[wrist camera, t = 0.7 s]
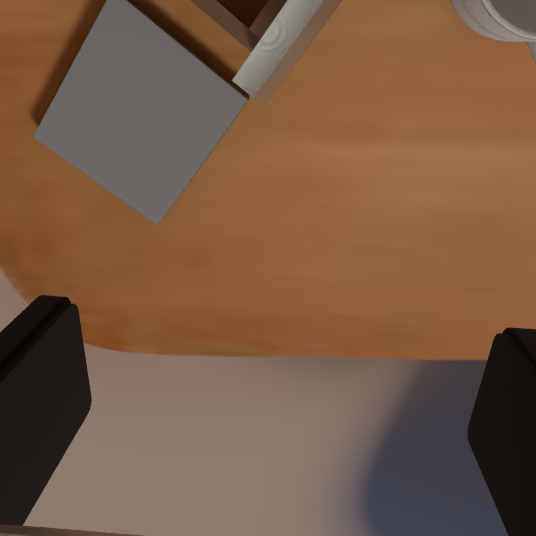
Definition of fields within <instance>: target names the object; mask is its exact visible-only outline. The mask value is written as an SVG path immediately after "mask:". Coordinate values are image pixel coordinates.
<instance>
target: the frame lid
mask: <svg viewBox="0 0 536 536" xmlns="http://www.w3.org/2000/svg"><path fill="white" fill-rule="evenodd" d="M341 1H342V0H287V2H286V3H285V5H284V6H283V8H282V9H281V10H280V12H279V13H278V15H277V16H276V18H275V19H274V21H273V22H272V23H271V25H270V26H269V28H268V29H267V31H266V32H265V34H264V35H263V36H262V38H261V39H260V41H259V42H258V44H257V45H256V47H255V48H254V49H253V51H252V52H251V54H250V55H249V57H248V58H247V60H246V61H245V62H244V64H243V65H242V67H241V68H240V70H239V71H238V73H237V74H236V76H235V77H234V78H233V80H232V81H233V82H234V83H236V84H237V85H238V86H239V87H241V88H242V89H243V90H244V91H245V92H247V93H248V94H249V95H250V96H252V97H253V98H254V99H255V100H257V101H258V102H259V103H260V104H261V105H263V106H265V104H266V103H267V102H268V100H269V99H270V98H271V96H272V95H273V93H274V92H275V91H276V89H277V88H278V87H279V85H280V84H281V83H282V81H283V80H284V79H285V77H286V76H287V75H288V73H289V72H290V70H291V69H292V68H293V66H294V65H295V64H296V62H297V61H298V60H299V58H300V57H301V56H302V54H303V53H304V51H305V50H306V49H307V47H308V46H309V45H310V43H311V42H312V41H313V39H314V38H315V37H316V35H317V34H318V33H319V31H320V30H321V28H322V27H323V26H324V24H325V23H326V22H327V20H328V19H329V18H330V16H331V15H332V14H333V12H334V11H335V9H336V8H337V7H338V5H339V4H340V3H341Z"/></svg>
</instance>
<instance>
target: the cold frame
mask: <svg viewBox="0 0 536 536" xmlns="http://www.w3.org/2000/svg"><path fill="white" fill-rule="evenodd" d="M191 1H192V2H193V3H194V4H195V5H197V6H198V7H199V8H200V9H201V10H203V11H204V12H205V13H206V14H207V15H208V16H210V17H211V18H212V19H213V20H214V21H215V22H217V23H218V24H219V25H220V26H221V27H223V28H224V29H225V30H226V31H227V32H228V33H230V34H231V35H232V36H233V37H234V38H235V39H237V40H238V41H239V42H240V43H241V44H242V45H244V46H245V47H246V48H247V49H248V50H250V51H251V52H252V51H253V49H254V48H255V47H256V45H257V44H258V42H259V41H260V39H261V38H262V36H263V35H264V34H265V32H266V31H267V29H268V28H269V26H270V25H271V23H272V22H273V21H274V19H275V18H276V16H277V15H278V13H279V12H280V10H281V9H282V8H283V6H284V5H285V3H286V2H287V0H268V2H267V3H266V4H265V6H264V7H263V9H262V10H261V12H260V13H259V15H258V16H257V18H256V19H255V21H254V22H253V24H252V25H251V27H249V26H247V25H246V24H245V23H244V22H243V21H242V20H240V19H239V18H238V17H237V16H236V15H235V14H233V13H232V12H231V11H230V10H229V9H228V8H227V7H225V6H224V5H223V4H222V3H221V2H220V1H218V0H191Z"/></svg>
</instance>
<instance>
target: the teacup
mask: <svg viewBox="0 0 536 536" xmlns="http://www.w3.org/2000/svg"><path fill="white" fill-rule="evenodd" d="M450 1H451V3H452V5H453V7H454V9H455V11H456V12H457V14H458V15H459V17H460V18H461V19H462V20H463V21H464V22H465V23H466V24H467V25H468V26H469V27H470V28H471V29H473V30H474V31H476V32H478V33H479V34H481V35H483V36H486V37H488V38H491V39H495V40H499V41H506V42H525V43H526V44H527V46H528V47H529V48H530V50H531V52H532V55H533V58H534V60H535V62H536V0H450Z"/></svg>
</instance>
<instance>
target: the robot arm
mask: <svg viewBox="0 0 536 536" xmlns="http://www.w3.org/2000/svg"><path fill="white" fill-rule="evenodd" d="M90 406H91V391H90V385H89V378H88V372H87V364H86V358H85V351H84V344H83V338H82V331H81V324H80V318H79V311H78V307H77V305H75V304H71V302H70V300H69V298H67V297H59V296H45V295H42V296H39V297H37V298H36V299H35V300H34V301H33V302H32V303H31V304H30V305H29V306H28V307H27V308H26V309H25V310H24V311H22V312H21V314H19V315H18V316H17V317H16V318H15V319H14V320H13V321H12V322H11V323H10V324H9V325H8V326H7V327H5V328H4V329H3V330H2V331H1V332H0V536H142V535H130V534H117V533H106V532H94V531H82V530H70V529H58V528H46V527H32V526H23V524H24V522H25V520H26V519H27V517H28V515H29V514H30V512H31V510H32V508H33V507H34V505H35V503H36V502H37V500H38V498H39V497H40V495H41V493H42V491H43V490H44V488H45V486H46V485H47V483H48V481H49V479H50V478H51V476H52V474H53V472H54V471H55V469H56V467H57V466H58V464H59V462H60V460H61V459H62V457H63V456H64V454H65V452H66V450H67V448H68V447H69V445H70V444H71V442H72V440H73V438H74V437H75V435H76V433H77V432H78V430H79V428H80V426H81V425H82V423H83V421H84V420H85V418H86V416H87V415H88V412H89V410H90ZM468 440H469V444H470V446H471V448H472V451H473V453H474V456H475V458H476V460H477V463H478V465H479V467H480V470H481V471H482V474H483V477H484V479H485V481H486V484H487V486H488V488H489V490H490V493H491V495H492V498H493V500H494V502H495V505H496V507H497V509H498V512H499V514H500V516H501V519H502V521H503V523H504V526H505V528H506V531H507V533H508V535H509V536H536V330H535V329H523V328H506V329H505V330H504V331H503V333H502V334H500V333H498V334H497V335H496V336H495V338H494V340H493V344H492V347H491V350H490V354H489V357H488V361H487V364H486V368H485V371H484V375H483V378H482V381H481V385H480V388H479V391H478V395H477V398H476V402H475V405H474V408H473V412H472V415H471V419H470V422H469V425H468Z"/></svg>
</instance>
